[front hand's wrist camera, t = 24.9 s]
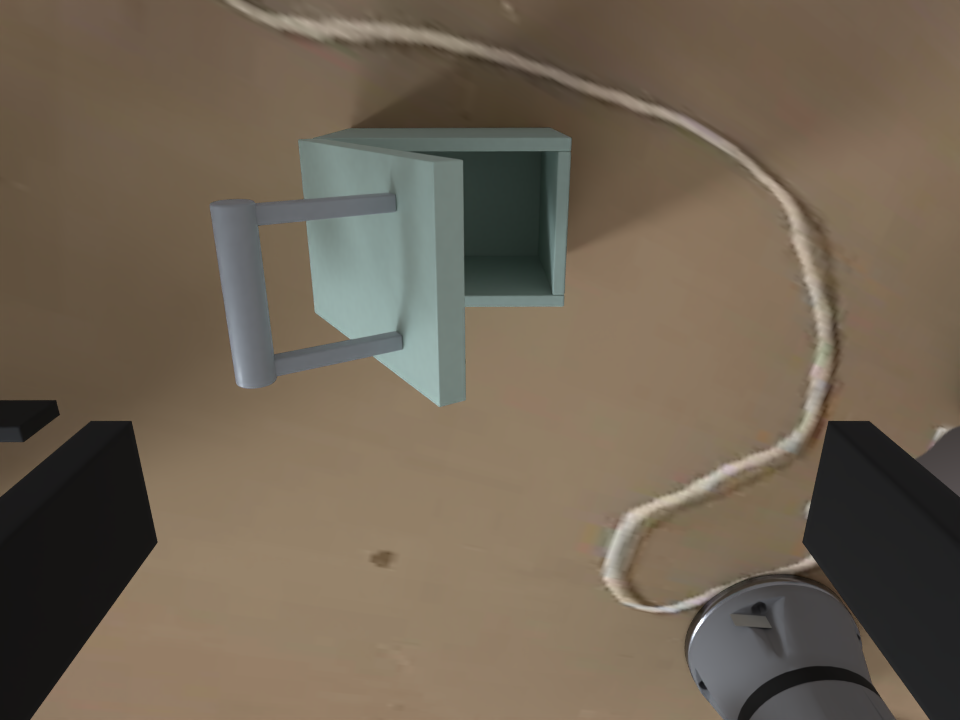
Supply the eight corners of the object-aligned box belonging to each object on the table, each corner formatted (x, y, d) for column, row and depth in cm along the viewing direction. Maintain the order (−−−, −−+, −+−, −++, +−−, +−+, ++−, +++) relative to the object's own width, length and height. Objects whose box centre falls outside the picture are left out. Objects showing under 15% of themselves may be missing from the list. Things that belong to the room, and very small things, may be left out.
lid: (463, 159, 24) (227, 173, 20) (466, 400, 27) (266, 453, 23) (321, 138, 35) (153, 144, 31) (335, 309, 39) (187, 334, 35)
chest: (551, 127, 46) (571, 137, 36) (546, 262, 49) (563, 306, 39) (349, 128, 46) (312, 138, 36) (359, 263, 49) (327, 307, 39)
